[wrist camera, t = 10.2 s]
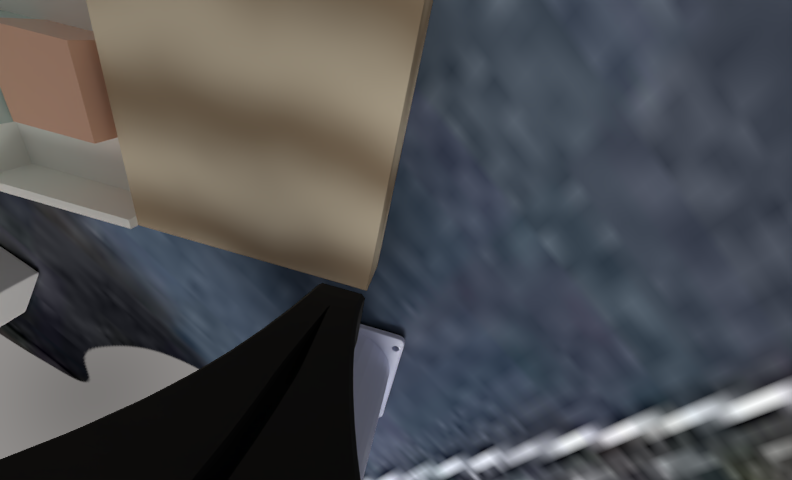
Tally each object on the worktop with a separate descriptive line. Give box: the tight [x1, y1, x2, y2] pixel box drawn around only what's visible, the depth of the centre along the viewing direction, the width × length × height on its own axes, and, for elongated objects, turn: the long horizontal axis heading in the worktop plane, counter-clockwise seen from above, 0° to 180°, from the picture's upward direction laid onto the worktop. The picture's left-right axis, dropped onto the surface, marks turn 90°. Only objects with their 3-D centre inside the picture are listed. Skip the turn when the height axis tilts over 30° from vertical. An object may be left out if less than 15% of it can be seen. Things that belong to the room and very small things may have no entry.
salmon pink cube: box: [0, 17, 118, 144], centre depth 17 cm, size 4×4×3 cm
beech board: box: [86, 0, 433, 291], centre depth 17 cm, size 14×14×2 cm
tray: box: [0, 0, 138, 229], centre depth 17 cm, size 14×10×4 cm
